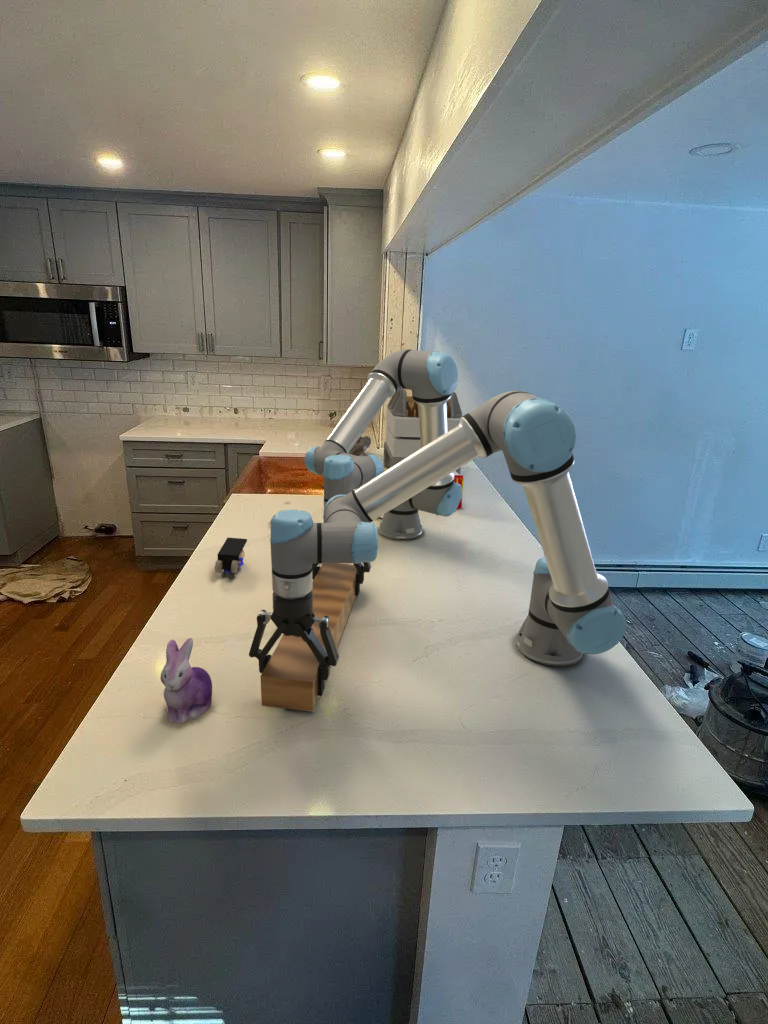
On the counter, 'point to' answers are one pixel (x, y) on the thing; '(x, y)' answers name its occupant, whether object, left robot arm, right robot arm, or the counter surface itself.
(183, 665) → the figurine
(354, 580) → the thick board
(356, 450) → the fossil
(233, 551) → the figurine character
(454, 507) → the left robot arm
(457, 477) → the toy
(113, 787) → the counter surface
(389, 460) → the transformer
